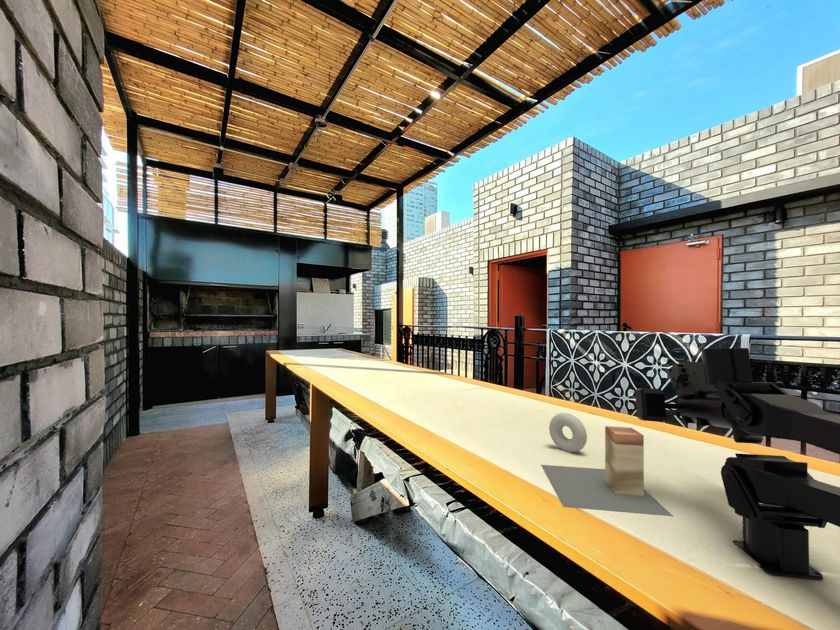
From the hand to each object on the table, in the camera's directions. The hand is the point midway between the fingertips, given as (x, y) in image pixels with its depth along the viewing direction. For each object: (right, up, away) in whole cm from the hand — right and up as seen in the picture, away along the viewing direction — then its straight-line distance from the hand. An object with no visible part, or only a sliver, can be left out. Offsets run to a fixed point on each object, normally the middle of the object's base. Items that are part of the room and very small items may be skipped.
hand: (664, 404), depth 73 cm
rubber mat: (-17, -16, -5) cm, 24 cm away
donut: (-15, -16, +14) cm, 26 cm away
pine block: (-12, -15, -6) cm, 21 cm away
